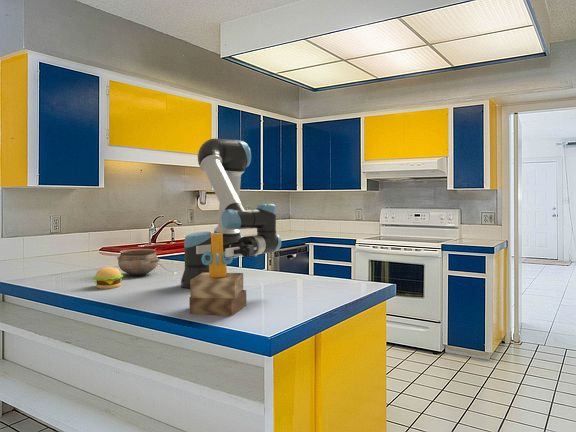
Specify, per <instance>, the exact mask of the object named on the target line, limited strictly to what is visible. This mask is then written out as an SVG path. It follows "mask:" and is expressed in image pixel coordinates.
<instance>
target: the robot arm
mask: <svg viewBox="0 0 576 432" xmlns="http://www.w3.org/2000/svg"><path fill="white" fill-rule="evenodd" d="M197 162H198V165H199V167H200V170H201V171H202V172H203V173H205V175H206V177H207V179H208V181H209V183H210V185H211V187H212V190H213V191H214V192H213V193H215V196H216V198H217V200H218V202H219V207H218V217H217V218H218V219H217V220H218V221H217V226H216V227H215V228H214V230H213V233H223V252H224V251H225V256H224V258H225V260H229V259H230V256H233V257H232V258H233V259H237V258H239V257H240V256H242V257H246V258H247V257H252V256H253V257H258V255H264V254H265V255H266V254H272V253H275V252H277V251H279V250H280V248H281V247H282V239H281V236H280V235H279V234H278V233H277V229H276V228H277V210H276V209H277V207H276V205H275V204H274V203H258V204H257V205H256V208H249V209H248V208H245V207H244V206H243V203H242V202H241V200H240V191H241V179H242V175H243V173H245V171H246V168H248V167H249V166H250V164H251V162H252V152H251V148H250V147H249V145H248V143H246V142H245V141H244V140H238V139H225V138H215V137H214V138H210V139H208V140H206V141H205V142H203V143H202V144H201V146H200V147H199V149H198V151H197ZM248 229H249V230H251V229H256V231H257V232H256V233H257V234H255V235H254V234H253V235H247V236H243V234H242V233H241V230H248ZM211 233H212V232H211V231H198V232H193V233H190V234H187V235H185V237H184V244H183V247H184V249H183V250H184V270H183V274H182V276H181V281H180V287H181V288H184V289H191V287H190V280H191V279H193V278H194V277H196V276H198V275H199V274H201V273H203V272H205V273H209V265H204V264H203V263H202V256H203V254H204V253H205V252H206V251H209V252H211ZM205 259H206V260H207V261H210V259H211V258H210V256H209V255H206V256H205ZM204 262H205V261H204ZM205 263H206V262H205Z"/></svg>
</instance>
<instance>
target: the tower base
mask: <svg viewBox="0 0 576 432" xmlns="http://www.w3.org/2000/svg"><path fill="white" fill-rule="evenodd" d="M245 307H247V290H246V289H245V290H244V289H243V290H242V291H241V293H240V294H239V295H238V296H237V297H236V298H235V299H227V298H191V296H189V314H190V315H205V316H206V315H207V316H221V317H233V316H234V315H236V314H237V313H239V312H240V311H241V310H243V309H244V308H245Z"/></svg>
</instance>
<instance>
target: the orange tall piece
mask: <svg viewBox="0 0 576 432" xmlns="http://www.w3.org/2000/svg"><path fill="white" fill-rule="evenodd" d="M206 255H209V256H210V258H211V259H210V261H207V260H206V259H205V256H206ZM224 256H225V251H224V252H223V233H214V232H213V233H212V232H211V252H209V251H206V252H205V253H204V254H203V256H202V263H203V264H204V265H209V276H210V277H212V278H221V277H226V276H227V273H228V270H227V269H228V268H227V265H231V263H232V262H233V260H234V258H232V257H233V256H230V259H225V258H224ZM204 261H205V262H206V263H205V262H204Z"/></svg>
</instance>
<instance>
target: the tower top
mask: <svg viewBox="0 0 576 432" xmlns="http://www.w3.org/2000/svg"><path fill="white" fill-rule="evenodd" d="M190 287H191V288H190V297H191V298H227V299H235V298H236V297H237V296H238V295H239V294H240V293H241V291H242V290H244V272H227V276H226V277H221V278H212V277H210V276H209V273H205V272H203V273H201V274H199V275H198V276H196V277H194V278H193V279H191V280H190Z"/></svg>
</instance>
